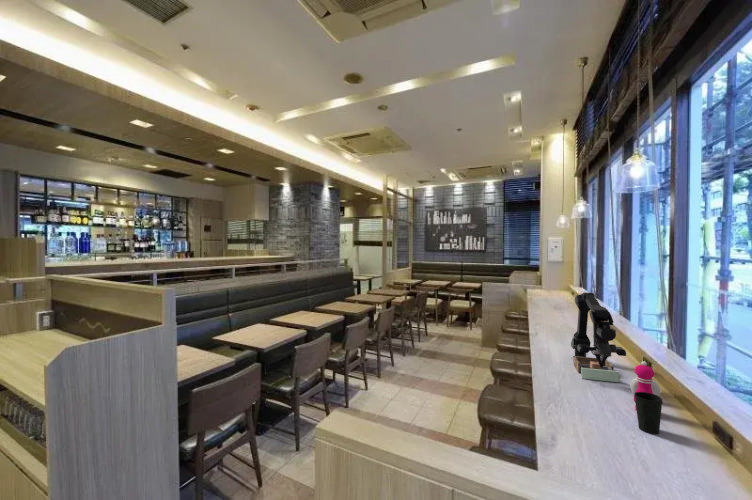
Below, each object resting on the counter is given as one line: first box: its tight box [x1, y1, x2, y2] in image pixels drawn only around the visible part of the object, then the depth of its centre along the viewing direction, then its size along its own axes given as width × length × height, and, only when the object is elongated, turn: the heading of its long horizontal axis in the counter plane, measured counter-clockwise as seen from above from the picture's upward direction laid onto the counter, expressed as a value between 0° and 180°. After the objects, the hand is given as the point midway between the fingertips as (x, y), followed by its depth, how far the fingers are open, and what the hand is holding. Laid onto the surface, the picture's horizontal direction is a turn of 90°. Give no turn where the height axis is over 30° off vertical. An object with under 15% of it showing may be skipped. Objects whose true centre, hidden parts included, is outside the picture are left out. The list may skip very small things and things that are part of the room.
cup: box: [633, 392, 663, 435], centre depth 116 cm, size 8×8×12 cm
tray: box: [580, 364, 620, 383], centre depth 164 cm, size 12×15×5 cm
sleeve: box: [572, 355, 615, 374], centre depth 172 cm, size 12×15×5 cm
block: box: [590, 361, 601, 370], centre depth 166 cm, size 4×4×5 cm
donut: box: [629, 377, 661, 397], centre depth 138 cm, size 10×3×10 cm, turn 59°
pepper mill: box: [633, 360, 655, 412], centre depth 128 cm, size 7×7×20 cm
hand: (601, 367), depth 157 cm, fingers closed
